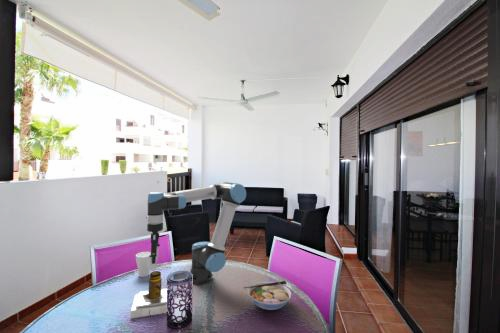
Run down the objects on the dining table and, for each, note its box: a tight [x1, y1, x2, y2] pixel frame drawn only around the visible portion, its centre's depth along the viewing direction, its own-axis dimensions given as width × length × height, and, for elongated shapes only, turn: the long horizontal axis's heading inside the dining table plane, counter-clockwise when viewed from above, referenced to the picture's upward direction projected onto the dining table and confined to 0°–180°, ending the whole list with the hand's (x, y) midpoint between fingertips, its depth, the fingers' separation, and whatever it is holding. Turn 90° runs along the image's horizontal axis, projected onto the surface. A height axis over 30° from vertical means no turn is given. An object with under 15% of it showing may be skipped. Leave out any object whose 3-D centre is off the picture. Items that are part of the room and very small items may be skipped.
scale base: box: [130, 293, 167, 319], centre depth 123 cm, size 18×17×4 cm
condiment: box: [143, 270, 163, 302], centre depth 124 cm, size 7×8×12 cm
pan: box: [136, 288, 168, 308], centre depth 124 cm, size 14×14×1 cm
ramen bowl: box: [243, 280, 292, 311], centre depth 127 cm, size 25×23×8 cm
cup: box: [135, 251, 151, 278], centre depth 159 cm, size 10×10×14 cm
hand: (154, 264), depth 124 cm, fingers open, 13 cm apart
